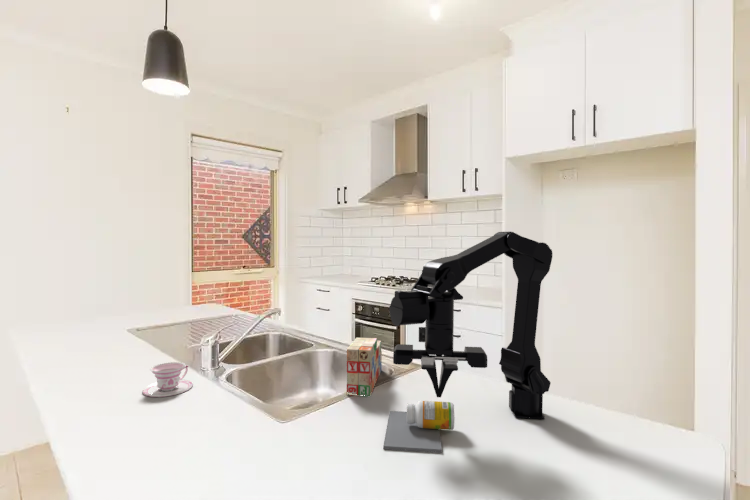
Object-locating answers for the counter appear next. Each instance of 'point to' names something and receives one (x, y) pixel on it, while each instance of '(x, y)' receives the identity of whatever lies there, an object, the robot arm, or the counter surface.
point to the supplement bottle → (431, 415)
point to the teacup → (168, 380)
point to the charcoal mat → (410, 435)
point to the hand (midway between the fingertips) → (438, 396)
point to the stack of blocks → (363, 365)
